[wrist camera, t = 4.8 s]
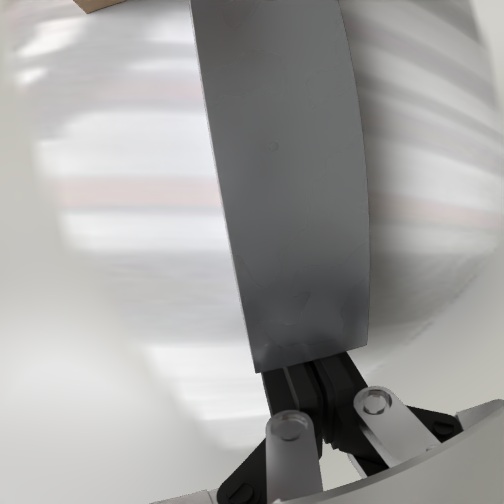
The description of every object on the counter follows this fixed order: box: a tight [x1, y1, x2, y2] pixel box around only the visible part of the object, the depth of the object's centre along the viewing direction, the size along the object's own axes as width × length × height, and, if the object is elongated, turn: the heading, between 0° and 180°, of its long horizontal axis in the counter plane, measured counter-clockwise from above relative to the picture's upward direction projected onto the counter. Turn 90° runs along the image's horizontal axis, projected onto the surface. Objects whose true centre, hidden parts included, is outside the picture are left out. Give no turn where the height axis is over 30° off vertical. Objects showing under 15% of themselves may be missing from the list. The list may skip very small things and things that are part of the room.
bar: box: [189, 0, 370, 373], centre depth 8 cm, size 14×4×4 cm, turn 9°
